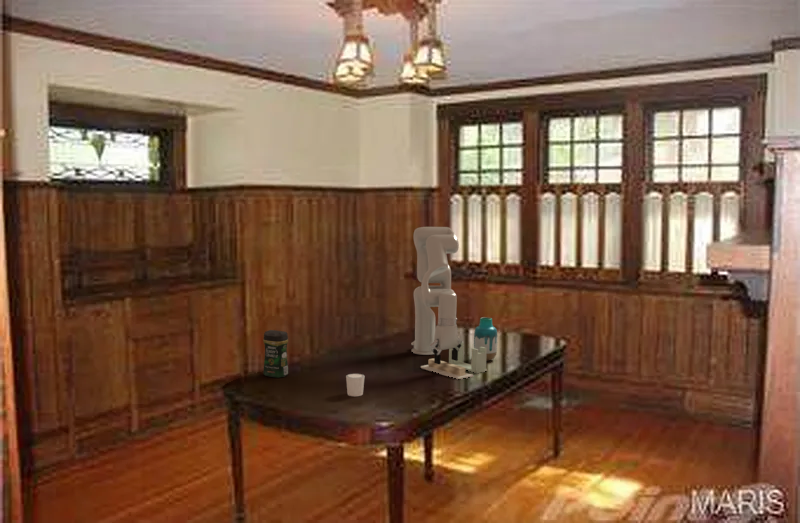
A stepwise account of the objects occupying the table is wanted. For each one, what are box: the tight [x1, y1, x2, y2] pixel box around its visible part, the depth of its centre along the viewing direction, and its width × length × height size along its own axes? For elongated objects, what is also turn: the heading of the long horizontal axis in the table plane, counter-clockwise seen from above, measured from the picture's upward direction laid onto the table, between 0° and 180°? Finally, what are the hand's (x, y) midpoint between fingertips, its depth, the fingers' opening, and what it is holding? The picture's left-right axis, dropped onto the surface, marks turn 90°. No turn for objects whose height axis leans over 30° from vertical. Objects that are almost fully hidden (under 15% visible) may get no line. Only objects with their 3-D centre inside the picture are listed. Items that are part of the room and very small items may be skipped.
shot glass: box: [345, 373, 365, 397], centre depth 255 cm, size 7×7×7 cm
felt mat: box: [420, 364, 474, 380], centre depth 289 cm, size 24×8×1 cm, turn 38°
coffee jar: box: [262, 329, 289, 379], centre depth 280 cm, size 10×8×19 cm
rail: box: [427, 357, 466, 376], centre depth 289 cm, size 20×3×3 cm, turn 38°
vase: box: [473, 316, 498, 362], centre depth 311 cm, size 11×11×19 cm
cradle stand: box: [448, 341, 488, 374], centre depth 296 cm, size 18×6×10 cm, turn 38°
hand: (446, 361), depth 289 cm, fingers open, 9 cm apart
